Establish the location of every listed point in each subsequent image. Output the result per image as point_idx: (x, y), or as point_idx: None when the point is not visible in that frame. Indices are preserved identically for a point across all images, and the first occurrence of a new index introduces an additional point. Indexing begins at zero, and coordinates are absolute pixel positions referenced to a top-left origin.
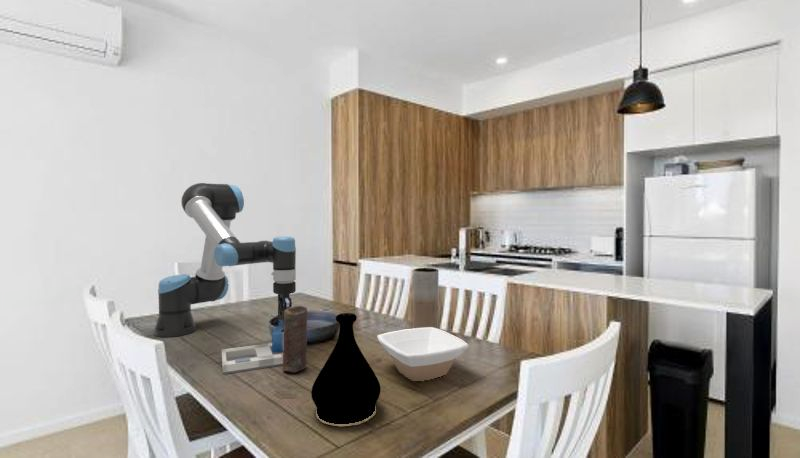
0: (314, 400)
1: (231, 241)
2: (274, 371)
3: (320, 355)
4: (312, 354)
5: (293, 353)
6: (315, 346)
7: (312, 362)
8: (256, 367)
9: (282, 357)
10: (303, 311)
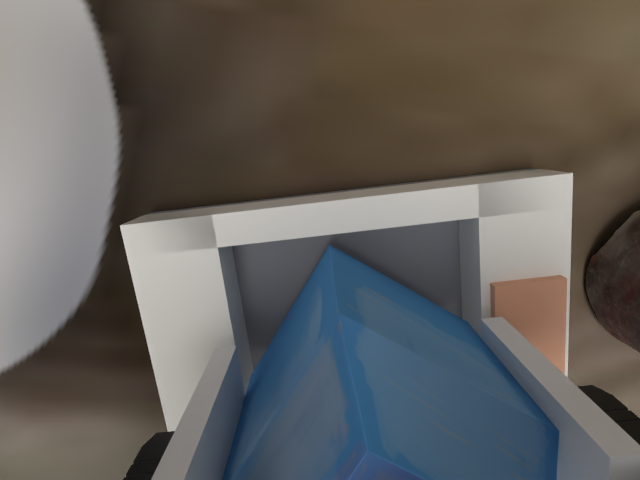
0: None
1: None
2: (617, 392)
3: (429, 32)
4: (378, 102)
5: None
6: (166, 47)
7: (568, 124)
8: None
9: (565, 374)
10: None
